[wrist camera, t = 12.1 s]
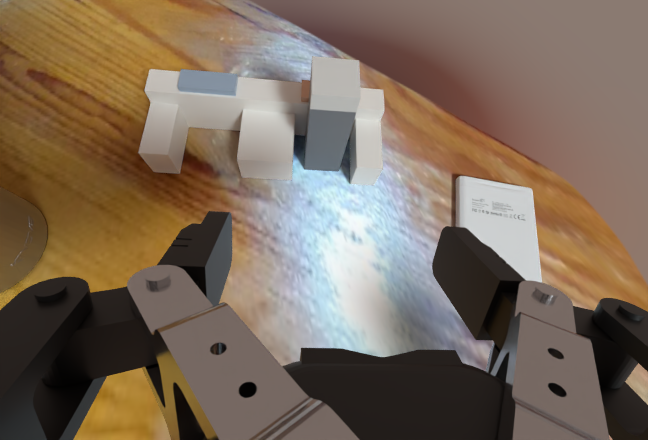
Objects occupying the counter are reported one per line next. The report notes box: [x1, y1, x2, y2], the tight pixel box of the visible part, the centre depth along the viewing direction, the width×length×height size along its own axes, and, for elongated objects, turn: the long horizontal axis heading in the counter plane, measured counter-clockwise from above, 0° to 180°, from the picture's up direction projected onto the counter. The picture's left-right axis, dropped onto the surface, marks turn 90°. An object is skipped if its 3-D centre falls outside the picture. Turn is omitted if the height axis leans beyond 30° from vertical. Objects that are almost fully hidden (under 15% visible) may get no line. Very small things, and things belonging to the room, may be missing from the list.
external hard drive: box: [456, 176, 542, 283], centre depth 33 cm, size 2×8×12 cm
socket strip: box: [138, 69, 384, 186], centre depth 32 cm, size 22×8×6 cm, turn 89°
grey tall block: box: [304, 56, 361, 171], centre depth 29 cm, size 4×4×11 cm
